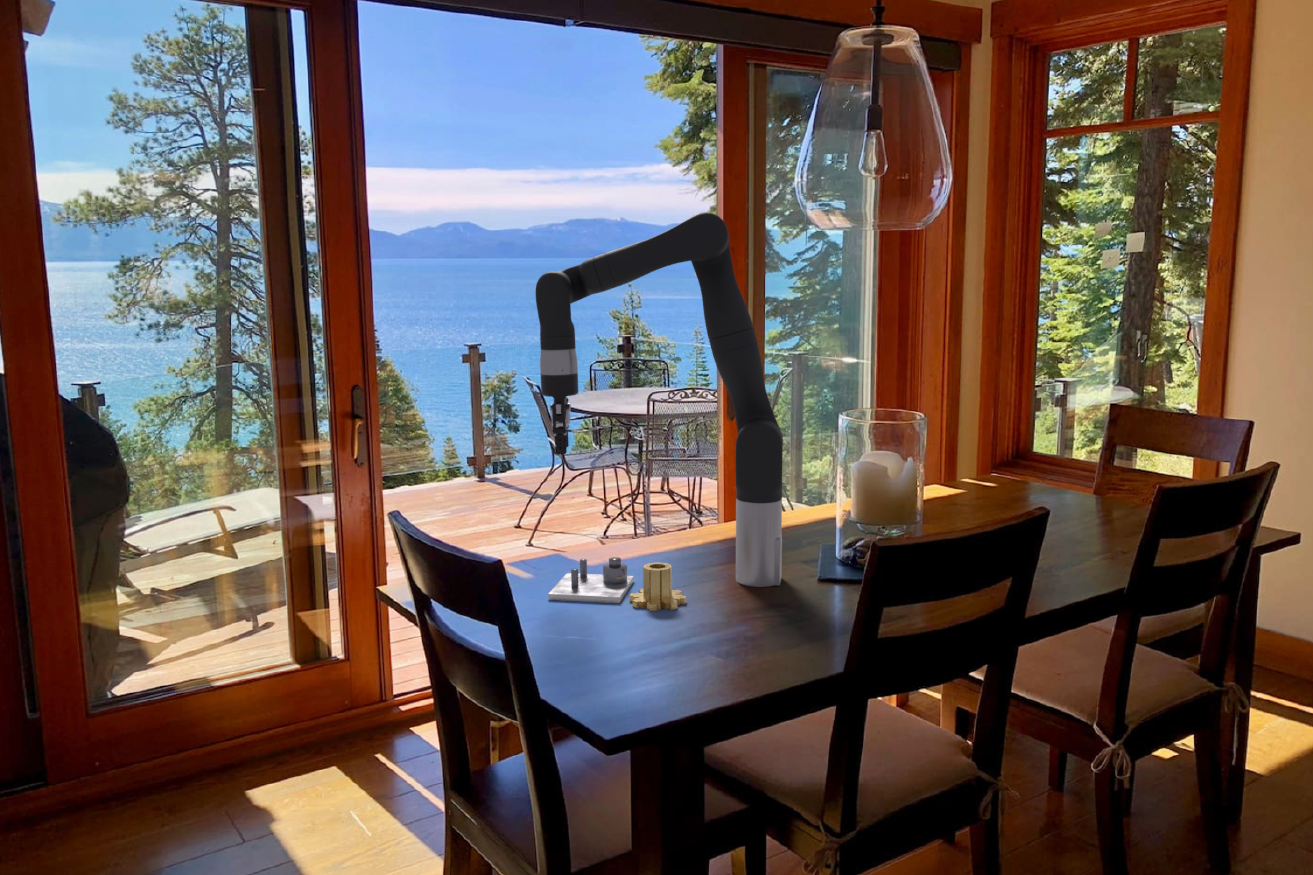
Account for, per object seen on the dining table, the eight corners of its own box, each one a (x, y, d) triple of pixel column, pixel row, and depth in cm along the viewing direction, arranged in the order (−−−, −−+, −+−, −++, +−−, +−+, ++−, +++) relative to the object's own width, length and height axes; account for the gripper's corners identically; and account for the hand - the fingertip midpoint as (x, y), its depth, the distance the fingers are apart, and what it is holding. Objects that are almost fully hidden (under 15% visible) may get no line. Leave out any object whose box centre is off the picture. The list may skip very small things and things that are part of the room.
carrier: (633, 581, 197) (633, 554, 196) (619, 603, 184) (619, 573, 183) (567, 578, 200) (566, 551, 199) (548, 599, 186) (547, 570, 185)
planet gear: (689, 594, 189) (689, 559, 188) (681, 612, 178) (681, 575, 177) (635, 591, 191) (635, 557, 190) (624, 609, 180) (624, 573, 179)
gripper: (576, 374, 189) (579, 456, 191) (578, 368, 203) (581, 444, 205) (537, 375, 188) (541, 457, 191) (543, 369, 202) (546, 446, 205)
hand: (562, 450), depth 198 cm, fingers open, 8 cm apart
